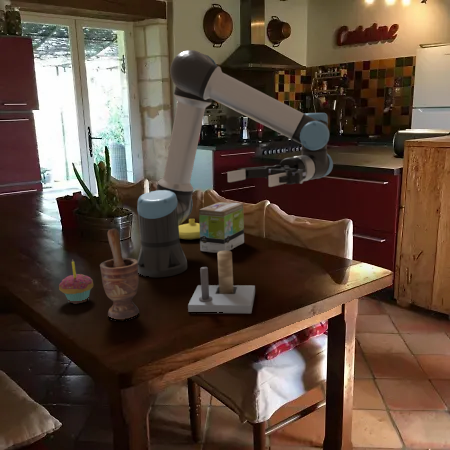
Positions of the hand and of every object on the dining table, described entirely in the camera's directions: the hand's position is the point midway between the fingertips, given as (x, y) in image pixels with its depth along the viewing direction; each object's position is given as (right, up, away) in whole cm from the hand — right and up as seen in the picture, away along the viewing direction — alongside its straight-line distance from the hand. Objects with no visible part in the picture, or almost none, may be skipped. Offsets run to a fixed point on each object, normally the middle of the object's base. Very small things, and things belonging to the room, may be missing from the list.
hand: (248, 179), depth 123 cm
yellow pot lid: (-18, -17, +61) cm, 65 cm away
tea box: (-7, -20, +45) cm, 50 cm away
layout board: (-6, -31, -3) cm, 32 cm away
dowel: (-5, -30, 0) cm, 31 cm away
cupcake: (-44, -32, +2) cm, 54 cm away
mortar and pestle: (-31, -33, -6) cm, 46 cm away
